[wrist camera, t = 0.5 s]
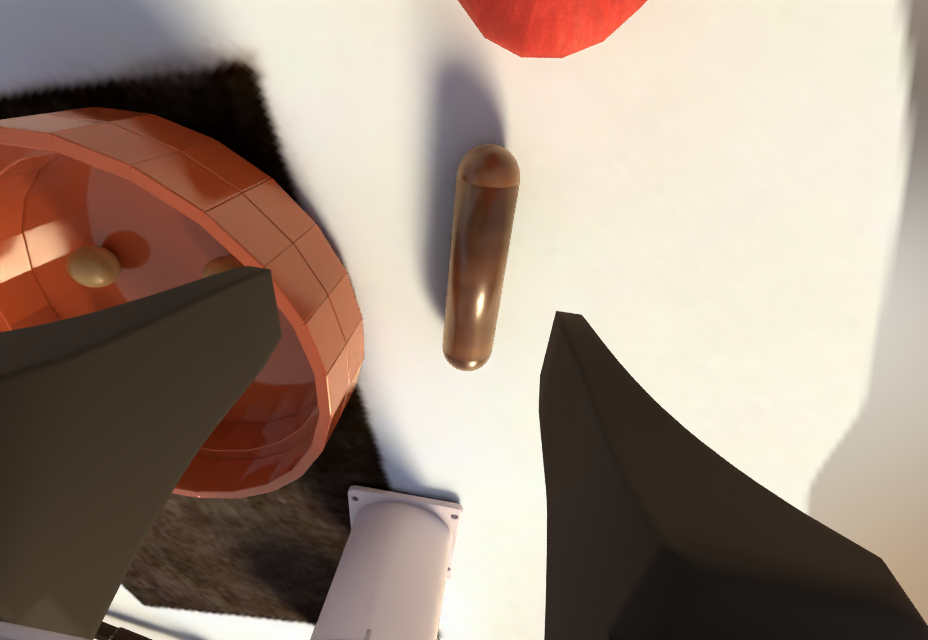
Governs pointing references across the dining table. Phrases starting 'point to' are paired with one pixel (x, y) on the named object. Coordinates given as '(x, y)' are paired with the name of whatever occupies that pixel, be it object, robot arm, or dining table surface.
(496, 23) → the red round piece
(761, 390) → the dining table surface
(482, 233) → the stick
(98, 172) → the bowl
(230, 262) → the bead
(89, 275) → the bead
